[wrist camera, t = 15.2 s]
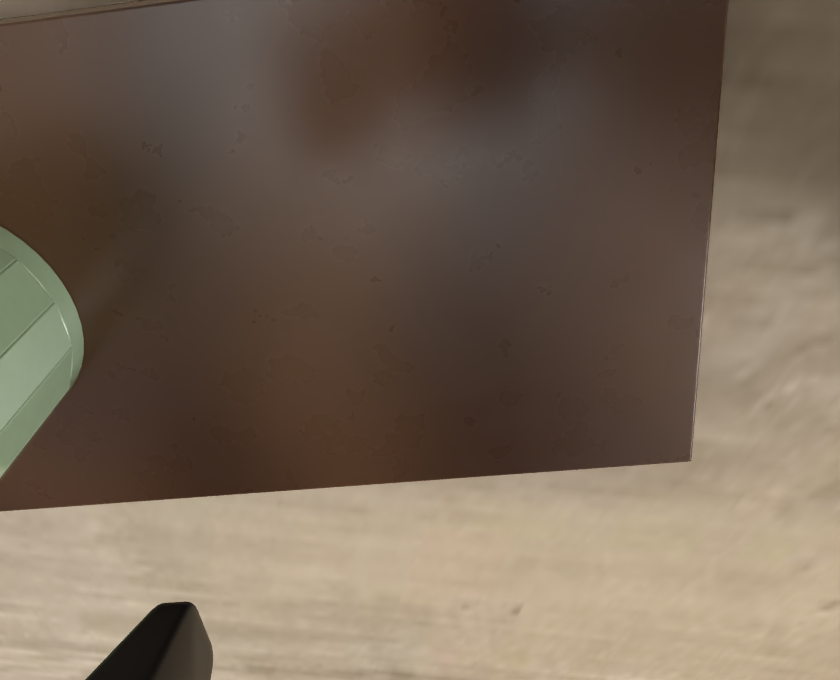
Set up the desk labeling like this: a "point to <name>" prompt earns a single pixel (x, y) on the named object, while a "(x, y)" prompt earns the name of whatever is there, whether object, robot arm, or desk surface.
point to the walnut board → (363, 237)
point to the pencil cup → (32, 345)
